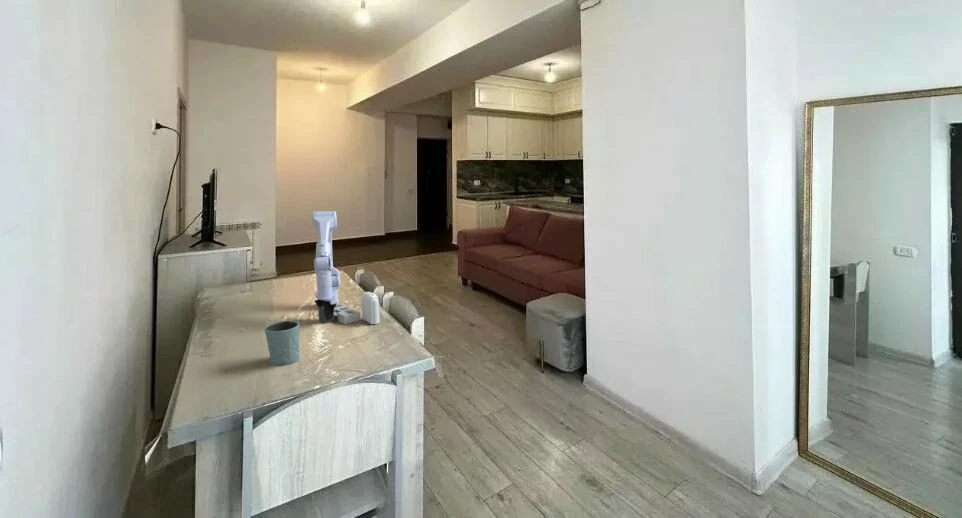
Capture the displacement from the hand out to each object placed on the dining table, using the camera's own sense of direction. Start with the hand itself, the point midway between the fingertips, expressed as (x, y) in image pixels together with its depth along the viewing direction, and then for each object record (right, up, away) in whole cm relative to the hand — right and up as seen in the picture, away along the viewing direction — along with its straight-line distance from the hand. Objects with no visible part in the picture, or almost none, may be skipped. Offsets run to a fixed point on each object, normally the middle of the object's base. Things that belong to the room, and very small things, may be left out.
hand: (326, 317), depth 181 cm
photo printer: (+18, -2, 0) cm, 18 cm away
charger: (+1, -1, +1) cm, 2 cm away
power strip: (+5, -1, +5) cm, 7 cm away
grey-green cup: (0, -9, -39) cm, 40 cm away
